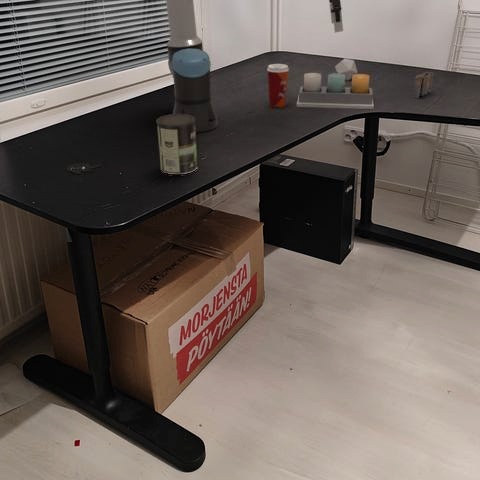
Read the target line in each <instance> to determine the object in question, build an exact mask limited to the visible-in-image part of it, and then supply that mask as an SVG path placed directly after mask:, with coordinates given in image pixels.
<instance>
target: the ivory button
mask: <svg viewBox="0 0 480 480" xmlns="http://www.w3.org/2000/svg"><path fill="white" fill-rule="evenodd" d="M303 80H304V81H303V86H304V92H320V89H321V87H322V74H321V73H319V72H308V73H304V76H303Z"/></svg>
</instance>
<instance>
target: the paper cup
mask: <svg viewBox="0 0 480 480" xmlns="http://www.w3.org/2000/svg"><path fill="white" fill-rule="evenodd" d="M266 70H267V79H268V102H269V107H271V108H276V107H279V108H284V107H286V97H287V90H288V89H287V88H288V77H289V76H288V75H289V70H290V69H289V66H288V65H287V64H284V63H273V64H269V65H268V66H267V68H266Z"/></svg>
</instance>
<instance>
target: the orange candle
mask: <svg viewBox="0 0 480 480" xmlns="http://www.w3.org/2000/svg"><path fill="white" fill-rule="evenodd" d="M369 85H370V75H369V74H366V73H365V74H363V73H357V74H355V75H352V78H351V93H356V94H368V88H370V87H369Z"/></svg>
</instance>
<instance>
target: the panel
mask: <svg viewBox="0 0 480 480" xmlns="http://www.w3.org/2000/svg"><path fill="white" fill-rule="evenodd" d="M351 87H352V86H351ZM351 87H349V86H347V87H344V93H327V88H328V86H321V89H320V92H304V85H301V86H300V88H299V92H298V97H297V101H296V107H297V108H298V107H299V108H300V107H301V108H323V109H324V108H325V109H326V108H327V109H329V108H331V109H354V110H355V109H356V110H357V109H358V110H359V109H360V110H374V107H375V105H374V99H373V96H374V94H373V89H372V87H369V88H368V94H356V93H351Z"/></svg>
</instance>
